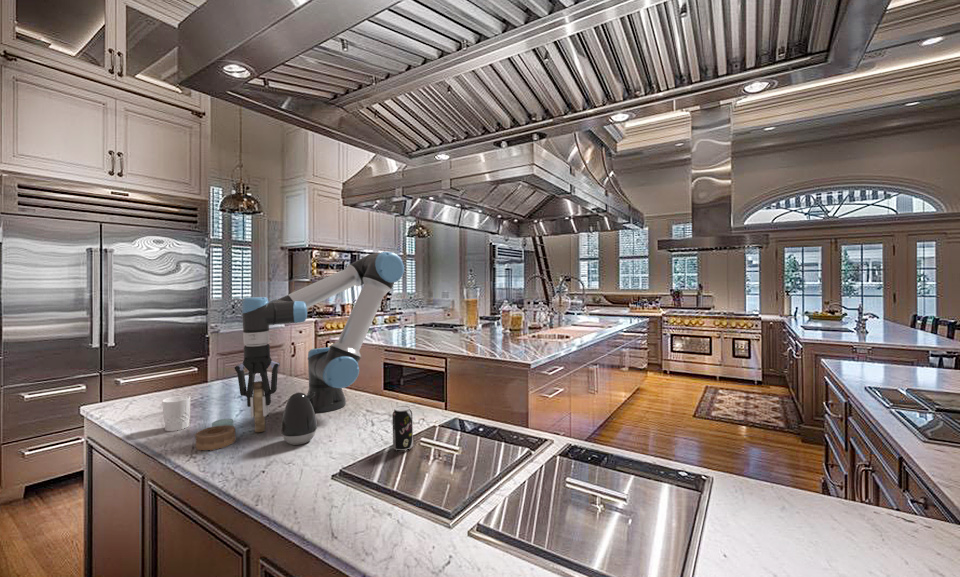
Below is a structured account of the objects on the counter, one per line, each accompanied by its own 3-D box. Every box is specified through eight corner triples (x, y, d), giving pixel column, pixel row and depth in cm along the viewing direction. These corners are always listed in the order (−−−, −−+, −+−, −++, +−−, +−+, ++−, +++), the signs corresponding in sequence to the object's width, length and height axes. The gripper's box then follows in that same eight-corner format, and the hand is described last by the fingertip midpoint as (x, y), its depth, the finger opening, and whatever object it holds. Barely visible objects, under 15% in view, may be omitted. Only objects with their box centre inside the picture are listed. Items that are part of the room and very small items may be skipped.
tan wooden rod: (266, 428, 142) (264, 380, 142) (263, 431, 139) (261, 383, 139) (256, 429, 142) (254, 381, 141) (253, 432, 139) (251, 383, 138)
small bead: (236, 428, 145) (235, 418, 145) (229, 434, 139) (229, 424, 139) (216, 429, 143) (216, 419, 143) (209, 436, 138) (208, 425, 138)
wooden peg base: (239, 436, 137) (239, 424, 136) (227, 448, 127) (227, 435, 127) (205, 439, 135) (204, 426, 135) (190, 452, 125) (189, 438, 125)
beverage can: (416, 445, 127) (415, 405, 126) (407, 453, 121) (406, 411, 121) (399, 443, 129) (398, 404, 128) (389, 451, 123) (388, 410, 123)
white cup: (196, 424, 149) (195, 395, 149) (178, 432, 141) (177, 402, 141) (176, 423, 150) (175, 395, 150) (156, 431, 142) (155, 402, 142)
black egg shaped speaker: (324, 440, 132) (322, 391, 132) (290, 451, 124) (288, 399, 124) (308, 432, 139) (307, 386, 139) (275, 442, 131) (274, 393, 131)
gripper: (225, 347, 134) (228, 421, 135) (280, 344, 138) (282, 417, 138) (234, 343, 142) (237, 414, 143) (285, 341, 145) (288, 410, 146)
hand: (259, 415), depth 140 cm, fingers closed on tan wooden rod, 3 cm apart
